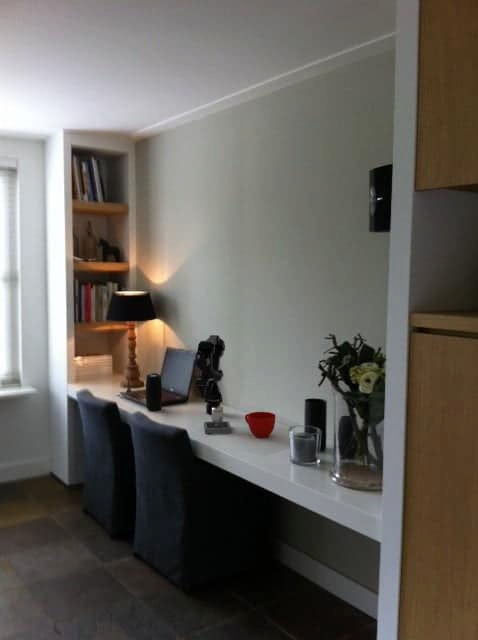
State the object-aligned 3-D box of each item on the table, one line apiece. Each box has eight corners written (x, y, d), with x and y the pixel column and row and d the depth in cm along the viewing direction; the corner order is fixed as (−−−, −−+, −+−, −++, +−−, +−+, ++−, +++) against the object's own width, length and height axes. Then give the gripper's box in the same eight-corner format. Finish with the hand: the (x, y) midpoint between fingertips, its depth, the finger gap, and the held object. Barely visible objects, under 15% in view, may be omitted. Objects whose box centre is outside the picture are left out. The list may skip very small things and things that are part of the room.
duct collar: (203, 426, 303) (203, 421, 303) (228, 426, 304) (228, 421, 304) (205, 434, 291) (205, 428, 290) (231, 433, 292) (231, 428, 292)
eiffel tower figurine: (115, 396, 374) (115, 374, 372) (131, 394, 379) (130, 372, 378) (124, 400, 361) (124, 378, 360) (140, 398, 366) (140, 376, 365)
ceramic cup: (255, 428, 300) (255, 408, 299) (281, 436, 288) (281, 415, 287) (236, 434, 291) (236, 413, 290) (262, 441, 279) (262, 420, 278)
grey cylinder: (216, 427, 302) (216, 405, 301) (227, 429, 298) (227, 407, 297) (207, 430, 297) (207, 408, 296) (218, 432, 293) (218, 410, 292)
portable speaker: (144, 411, 334) (143, 375, 332) (148, 407, 343) (148, 372, 341) (159, 411, 333) (159, 376, 331) (163, 407, 342) (163, 373, 340)
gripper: (215, 369, 301) (215, 400, 302) (226, 363, 318) (226, 392, 320) (194, 368, 304) (194, 399, 305) (206, 362, 322) (206, 391, 323)
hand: (206, 395), depth 313 cm, fingers open, 9 cm apart
